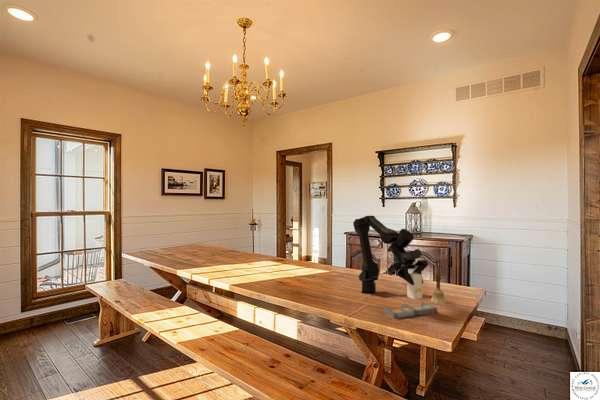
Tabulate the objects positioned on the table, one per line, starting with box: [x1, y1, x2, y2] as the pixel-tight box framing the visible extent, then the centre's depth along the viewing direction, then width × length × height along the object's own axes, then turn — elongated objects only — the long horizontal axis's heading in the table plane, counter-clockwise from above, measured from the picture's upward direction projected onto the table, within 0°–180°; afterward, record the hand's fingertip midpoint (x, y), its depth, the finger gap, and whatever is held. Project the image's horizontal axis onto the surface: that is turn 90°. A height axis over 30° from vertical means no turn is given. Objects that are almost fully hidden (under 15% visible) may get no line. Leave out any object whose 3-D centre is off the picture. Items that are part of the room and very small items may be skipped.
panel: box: [382, 301, 438, 319], centre depth 135 cm, size 21×11×3 cm, turn 107°
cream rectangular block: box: [406, 272, 423, 300], centre depth 136 cm, size 4×4×10 cm
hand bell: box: [429, 268, 448, 304], centre depth 149 cm, size 8×8×16 cm
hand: (418, 284), depth 134 cm, fingers closed on cream rectangular block, 4 cm apart
